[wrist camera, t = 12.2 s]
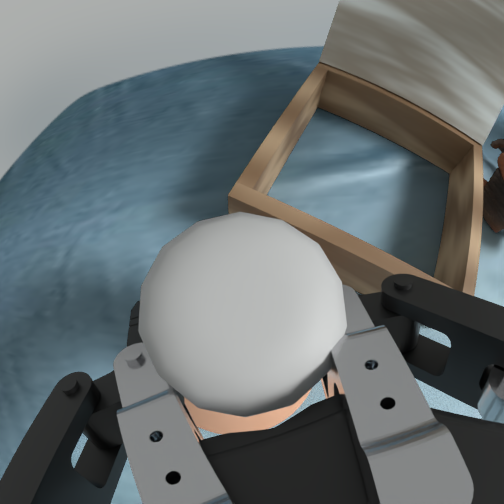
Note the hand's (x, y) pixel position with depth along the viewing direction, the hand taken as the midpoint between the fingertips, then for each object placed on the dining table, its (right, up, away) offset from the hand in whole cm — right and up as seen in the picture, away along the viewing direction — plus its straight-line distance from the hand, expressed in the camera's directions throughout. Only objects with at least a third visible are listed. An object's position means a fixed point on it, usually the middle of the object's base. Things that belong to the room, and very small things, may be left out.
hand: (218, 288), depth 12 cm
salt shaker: (+1, -4, +6) cm, 7 cm away
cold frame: (+12, +9, +12) cm, 19 cm away
